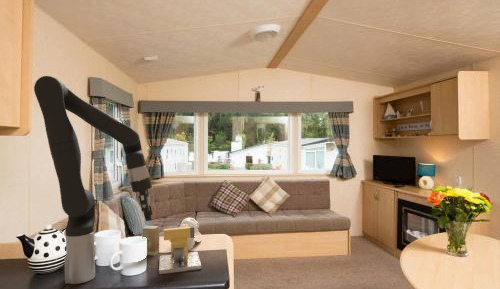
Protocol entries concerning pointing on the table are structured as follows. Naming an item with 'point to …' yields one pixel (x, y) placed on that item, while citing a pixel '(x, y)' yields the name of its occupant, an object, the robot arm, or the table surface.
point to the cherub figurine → (193, 222)
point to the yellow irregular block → (179, 235)
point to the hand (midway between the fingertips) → (149, 217)
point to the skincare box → (152, 239)
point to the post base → (175, 265)
